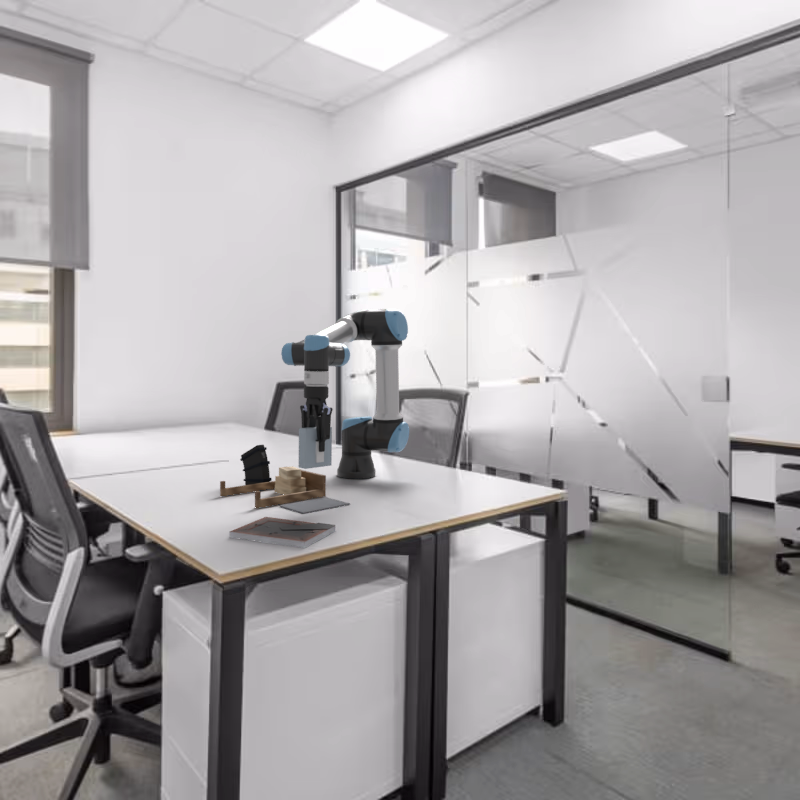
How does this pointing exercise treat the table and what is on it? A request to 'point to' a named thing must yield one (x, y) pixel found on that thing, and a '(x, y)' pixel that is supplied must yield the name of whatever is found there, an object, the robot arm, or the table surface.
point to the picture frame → (283, 531)
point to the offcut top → (289, 473)
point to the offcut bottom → (288, 490)
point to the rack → (313, 490)
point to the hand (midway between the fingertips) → (315, 461)
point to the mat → (314, 505)
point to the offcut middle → (290, 482)
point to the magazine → (256, 465)
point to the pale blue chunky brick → (312, 448)
